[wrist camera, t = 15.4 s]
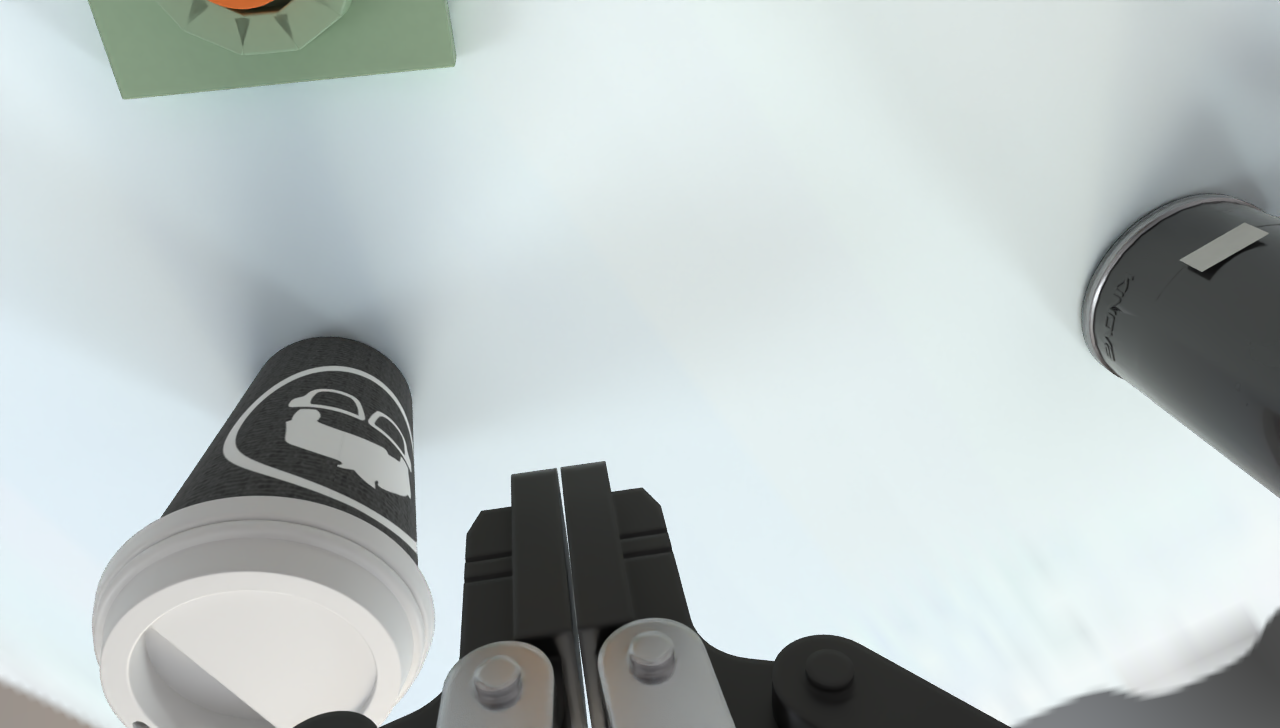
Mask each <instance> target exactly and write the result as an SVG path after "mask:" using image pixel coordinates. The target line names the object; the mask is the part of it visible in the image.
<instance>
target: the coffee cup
mask: <svg viewBox="0 0 1280 728" xmlns="http://www.w3.org/2000/svg"><path fill="white" fill-rule="evenodd" d="M434 629H435V610H434V604H433V599H432V595H431V592H430V589H429V587H428V584H427V582H426V580H425V578H424V576H423V574H422V573H421V571H420V569H419V568H418V557H417V533H416V506H415V476H414V446H413V415H412V399H411V394H410V390H409V387H408V384H407V382H406V380H405V378H404V377H403V375H402V373H401V372H400V371H399V369H398V368H397V367H396V366H395V365H394V364H393V363H392V362H391V361H390V360H389V359H388V358H387V357H386V356H384V355H383V354H381V353H380V352H378V351H377V350H375V349H373V348H371V347H369V346H367V345H365V344H362V343H360V342H357V341H353V340H349V339H344V338H337V337H318V338H311V339H306V340H302V341H299V342H296V343H294V344H291V345H289V346H287V347H285V348H283V349H282V350H280V351H279V352H277V353H276V354H275V355H274V356H272V357H271V358H270V359H269V360H268V361H267V363H266V364H265V365H264V366H263V368H262V369H261V371H260V372H259V374H258V375H257V376H256V378H255V379H254V381H253V382H252V384H251V385H250V387H249V388H248V390H247V391H246V393H245V394H244V396H243V397H242V399H241V400H240V402H239V403H238V405H237V406H236V408H235V409H234V411H233V412H232V414H231V415H230V417H229V418H228V419H227V421H226V422H225V424H224V425H223V427H222V428H221V430H220V431H219V433H218V434H217V436H216V437H215V439H214V440H213V442H212V443H211V445H210V446H209V448H208V449H207V451H206V452H205V453H204V455H203V456H202V458H201V459H200V461H199V462H198V464H197V465H196V467H195V468H194V470H193V471H192V473H191V474H190V476H189V477H188V479H187V480H186V481H185V483H184V484H183V486H182V487H181V489H180V490H179V492H178V493H177V495H176V496H175V498H174V499H173V500H172V502H171V503H170V505H169V506H168V508H167V509H166V511H165V512H164V513H163V515H162V516H161V518H160V519H158V520H156V521H154V522H153V523H151V524H149V525H148V526H146V527H145V528H143V529H142V530H140V531H139V532H137V533H136V534H135V535H134V536H132V537H131V538H130V539H129V540H128V541H127V542H126V543H125V544H124V545H123V546H122V547H121V548H120V549H119V550H118V551H117V552H116V554H115V555H114V556H113V557H112V559H111V560H110V562H109V563H108V565H107V567H106V568H105V570H104V572H103V574H102V576H101V579H100V581H99V584H98V587H97V591H96V595H95V601H94V609H93V617H92V633H93V643H94V650H95V655H96V658H97V662H98V664H99V667H100V679H101V685H102V688H103V692H104V694H105V697H106V699H107V701H108V703H109V705H110V707H111V709H112V710H113V712H114V713H115V715H116V716H117V717H118V718H119V720H120V721H121V722H122V723H123V724H124V725H125V726H126V727H127V728H293V727H294V726H296V725H297V724H299V723H301V722H303V721H305V720H307V719H309V718H311V717H314V716H316V715H319V714H323V713H327V712H333V711H352V712H357V713H360V714H362V715H365V716H366V717H368V718H369V719H371V720H372V721H373V722H374V723H375V724H376V726H377V727H378V728H379V727H380V725H381V724H382V723H383V722H384V721H385V719H386V718H387V717H388V715H389V714H390V712H391V711H392V709H393V707H394V706H395V705H396V704H397V703H398V702H399V701H400V700H401V699H402V698H403V696H404V695H405V694H406V693H407V691H408V690H409V688H410V687H411V685H412V684H413V682H414V681H415V679H416V678H417V676H418V674H419V672H420V670H421V668H422V666H423V664H424V662H425V659H426V657H427V654H428V652H429V649H430V647H431V643H432V640H433V635H434Z"/></svg>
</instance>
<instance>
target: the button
mask: <svg viewBox="0 0 1280 728" xmlns="http://www.w3.org/2000/svg"><path fill="white" fill-rule="evenodd" d="M208 1H210V2H212V3H215V4H217V5H220V6H223V7H228V8H233V9H251V8H256V7H260V6H263V5H265V4H267V3H269V2H271V1H273V0H208Z"/></svg>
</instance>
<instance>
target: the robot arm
mask: <svg viewBox="0 0 1280 728" xmlns="http://www.w3.org/2000/svg"><path fill="white" fill-rule="evenodd" d="M1082 330H1083V336H1084V339H1085V342H1086V345H1087V347H1088V349H1089V351H1090V352H1091V354H1092V355H1093V357H1094V358H1095V359H1096V360H1097V361H1098V362H1099V363H1100V364H1101V365H1103V366H1104V367H1105V368H1106V369H1108V370H1109V371H1110V372H1112V373H1113V374H1115V375H1116V376H1118V377H1120V378H1122V379H1124V380H1126V381H1127V382H1128V383H1130V384H1131V385H1132V386H1134V387H1135V388H1136V389H1138V390H1139V391H1140V392H1142V393H1143V394H1144V395H1145V396H1147V397H1148V398H1149V399H1151V400H1152V401H1153V402H1154V403H1155V404H1157V405H1158V406H1159V407H1161V408H1162V409H1163V410H1165V411H1166V412H1167V413H1168V414H1170V415H1171V416H1172V417H1174V418H1175V419H1176V420H1178V421H1179V422H1180V423H1182V424H1183V425H1184V426H1186V427H1187V428H1188V429H1189V430H1191V431H1192V432H1193V433H1195V434H1196V435H1197V436H1199V437H1200V438H1201V439H1203V440H1204V441H1205V442H1207V443H1208V444H1209V445H1210V446H1212V447H1213V448H1214V449H1216V450H1217V451H1218V452H1220V453H1221V454H1222V455H1224V456H1225V457H1226V458H1228V459H1229V460H1230V461H1231V462H1233V463H1234V464H1235V465H1237V466H1238V467H1239V468H1241V469H1242V470H1243V471H1245V472H1246V473H1247V474H1249V475H1250V476H1251V477H1252V478H1254V479H1255V480H1256V481H1258V482H1259V483H1260V484H1262V485H1263V486H1264V487H1266V488H1267V489H1268V490H1270V491H1271V492H1272V493H1274V494H1275V495H1276V496H1277V497H1279V498H1280V217H1274V216H1272V215H1269V214H1267V213H1264V212H1263V211H1262V210H1261V209H1259V208H1257V207H1256V206H1254V205H1252V204H1249V203H1247V202H1245V201H1242V200H1240V199H1237V198H1235V197H1231V196H1228V195H1222V194H1200V195H1194V196H1189V197H1185V198H1182V199H1179V200H1176V201H1173V202H1171V203H1168V204H1166V205H1164V206H1162V207H1160V208H1158V209H1156V210H1155V211H1153V212H1151V213H1150V214H1148V215H1147V216H1145V217H1144V218H1142V219H1141V220H1139V221H1138V222H1137V223H1135V224H1134V225H1133V226H1132V227H1131V228H1130V229H1128V230H1127V231H1126V232H1125V233H1124V234H1123V235H1122V236H1121V237H1120V238H1119V239H1118V240H1117V241H1116V242H1115V244H1114V245H1113V246H1112V247H1111V248H1110V249H1109V251H1108V252H1107V253H1106V255H1105V256H1104V257H1103V259H1102V261H1101V262H1100V264H1099V265H1098V267H1097V269H1096V271H1095V273H1094V274H1093V276H1092V279H1091V281H1090V283H1089V286H1088V289H1087V292H1086V295H1085V299H1084V303H1083V309H1082ZM561 477H562V486H563V496H564V506H565V515H566V525H567V534H568V542H567V535H566V528H565V521H564V514H563V507H562V500H561V493H560V486H559V479H558V473H557V468H554V469H546V470H539V471H532V472H525V473H518V474H512V475H511V505H512V507H505V508H498V509H491V510H484V511H481V512H480V514H479V515H478V517H477V519H476V520H475V522H474V523H473V525H472V526H471V528H470V530H469V531H468V533H467V536H466V554H465V560H466V563H465V572H464V581H465V583H464V590H463V608H462V625H461V643H460V658H459V661H458V662H457V663H456V664H455V665H454V666H453V668H452V669H451V671H450V672H449V674H448V676H447V678H446V680H445V682H444V686H443V690H442V692H441V693H440V694H439V695H438V696H437V697H436V698H435V699H433V700H432V701H431V702H430V703H428V704H427V705H425V706H424V707H422V708H421V709H419V710H417V711H415V712H413V713H411V714H409V715H406V716H404V717H402V718H400V719H397V720H395V721H393V722H391V723H388V724H386V725H384V726H381V727H379V728H588V724H587V714H586V705H585V695H584V686H583V676H582V667H581V657H582V664H583V671H584V677H585V684H586V691H587V698H588V705H589V712H590V719H591V726H592V728H1011V727H1009V726H1007V725H1005V724H1004V723H1002V722H1000V721H998V720H996V719H994V718H993V717H991V716H989V715H987V714H985V713H984V712H982V711H980V710H978V709H976V708H975V707H973V706H971V705H969V704H967V703H966V702H964V701H962V700H960V699H958V698H957V697H955V696H953V695H951V694H949V693H948V692H946V691H944V690H942V689H940V688H938V687H937V686H935V685H933V684H931V683H929V682H928V681H926V680H924V679H922V678H920V677H919V676H917V675H915V674H913V673H911V672H910V671H908V670H906V669H904V668H902V667H901V666H899V665H897V664H895V663H893V662H891V661H890V660H888V659H886V658H884V657H882V656H881V655H879V654H877V653H875V652H873V651H872V650H870V649H868V648H866V647H864V646H863V645H861V644H859V643H857V642H854V641H852V640H850V639H847V638H843V637H839V636H834V635H813V636H808V637H804V638H801V639H798V640H796V641H794V642H792V643H790V644H789V645H787V646H786V647H785V648H784V649H782V651H781V652H780V653H779V654H778V656H777V657H776V659H775V661H767V660H757V659H748V658H742V657H737V656H733V655H730V654H727V653H724V652H722V651H720V650H718V649H716V648H714V647H713V646H711V645H710V644H708V643H707V642H706V641H705V640H704V639H703V638H702V637H701V636H700V635H699V634H698V633H697V631H696V629H695V628H694V626H693V624H692V621H691V618H690V614H689V610H688V607H687V603H686V599H685V595H684V592H683V588H682V584H681V580H680V577H679V573H678V569H677V565H676V561H675V558H674V554H673V552H672V546H671V543H670V539H669V535H668V533H667V528H666V524H665V520H664V516H663V513H662V509H661V505H660V504H659V503H658V502H656V501H655V500H654V499H653V498H652V497H651V496H650V495H649V494H648V493H647V492H646V491H645V490H644V489H643V488H636V489H629V490H622V491H615V492H611V489H610V483H609V478H608V473H607V467H606V462H605V461H602V462H595V463H588V464H581V465H574V466H566V467H561ZM568 544H569V549H568ZM569 553H570V557H569ZM570 563H571V564H570ZM571 572H572V573H571ZM578 636H579V638H578ZM579 643H580V648H579ZM580 650H581V657H580ZM293 728H378V727H377V726H376V724H375V723H374V722H373V721H372V720H371V719H369V718H368V717H366V716H365V715H362V714H360V713H357V712H352V711H333V712H327V713H323V714H319V715H316V716H314V717H311V718H309V719H307V720H305V721H303V722H301V723H299V724H297V725H296V726H294V727H293Z"/></svg>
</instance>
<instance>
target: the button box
mask: <svg viewBox="0 0 1280 728" xmlns="http://www.w3.org/2000/svg"><path fill="white" fill-rule="evenodd" d="M88 2H89V5H90V8H91V11H92V13H93V16H94V19H95V22H96V25H97V28H98V31H99V33H100V36H101V39H102V42H103V45H104V48H105V51H106V53H107V56H108V59H109V62H110V65H111V68H112V71H113V73H114V76H115V79H116V82H117V85H118V88H119V90H120V93H121V96H122V98H123V99H135V98H145V97H155V96H165V95H175V94H185V93H195V92H205V91H215V90H225V89H235V88H245V87H255V86H265V85H275V84H285V83H295V82H305V81H315V80H325V79H335V78H345V77H355V76H365V75H376V74H386V73H396V72H406V71H416V70H426V69H436V68H446V67H454V66H455V62H456V52H455V46H454V40H453V34H452V28H451V21H450V15H449V9H448V3H447V0H273V1H271V2H269V3H267V4H265V5H263V6H260V7H256V8H251V9H233V8H228V7H223V6H220V5H217V4H215V3H212V2H210V1H208V0H88Z"/></svg>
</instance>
